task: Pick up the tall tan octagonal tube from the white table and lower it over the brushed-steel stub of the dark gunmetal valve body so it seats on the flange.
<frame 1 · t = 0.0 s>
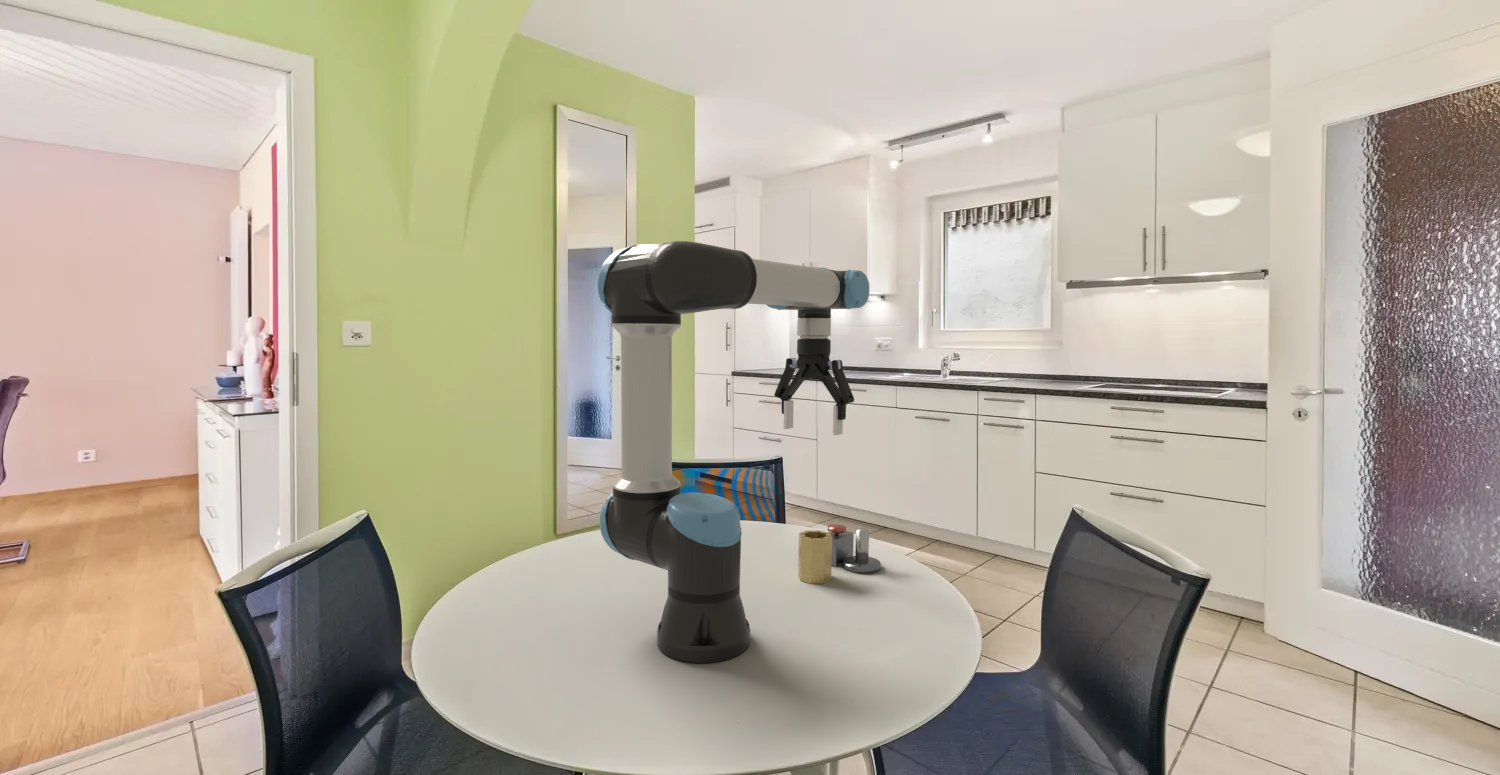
hand: (812, 431, 155), 28 cm above the table, fingers open, 13 cm apart
tan octagonal tube: (814, 577, 140), on the table
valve: (861, 567, 147), on the table
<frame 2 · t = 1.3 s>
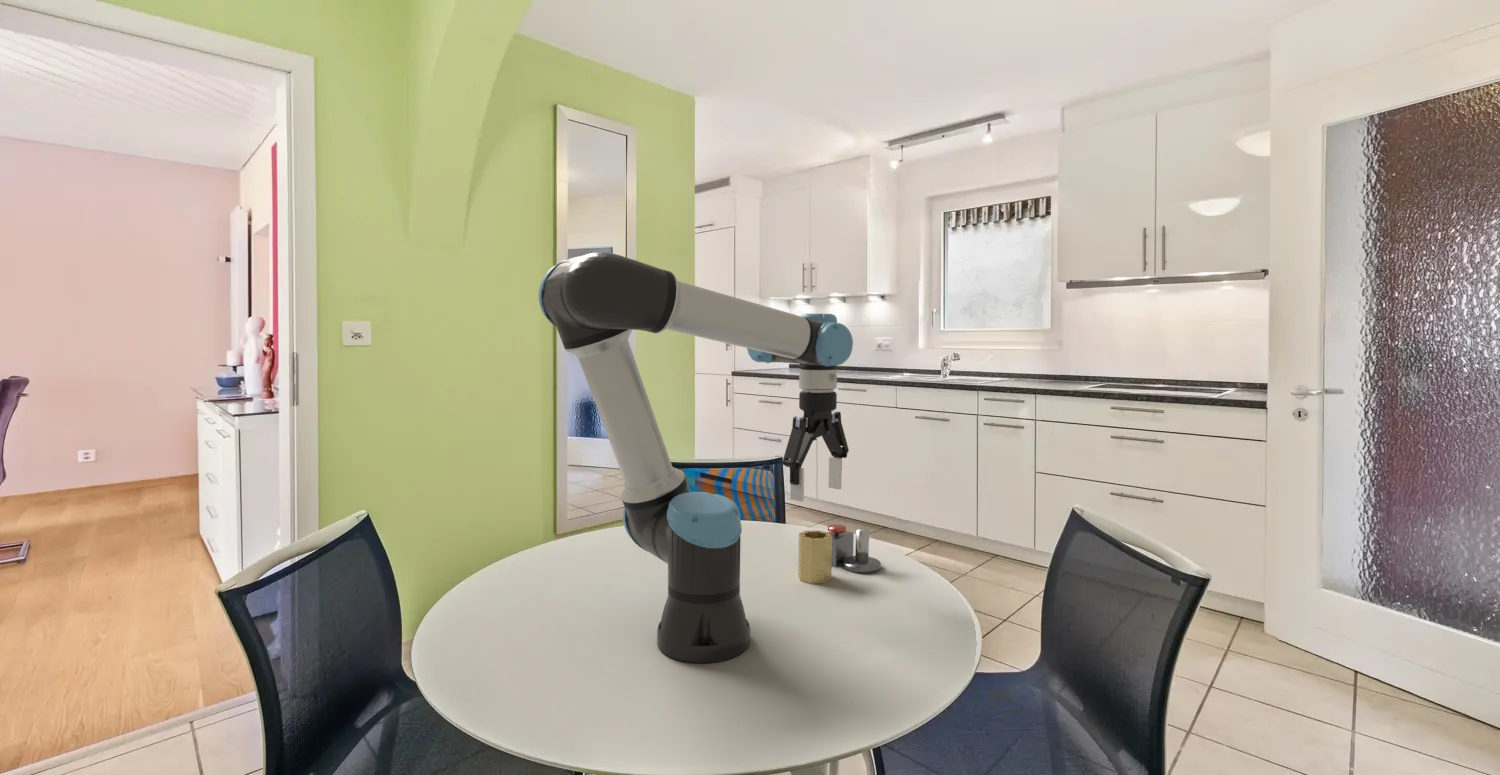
hand: (816, 494, 139), 17 cm above the table, fingers open, 13 cm apart
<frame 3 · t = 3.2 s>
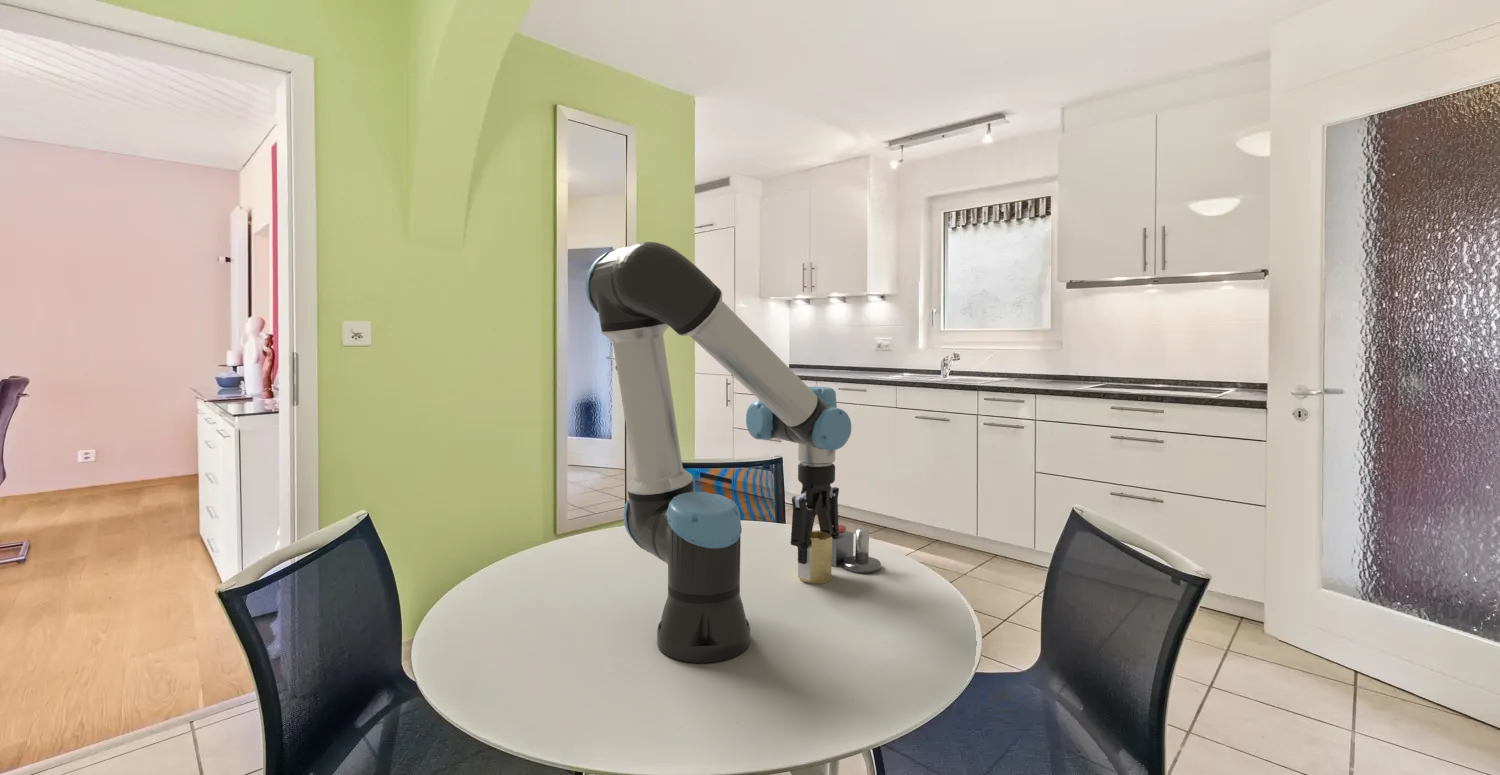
hand: (814, 573, 140), 1 cm above the table, fingers closed on tan octagonal tube, 6 cm apart
tan octagonal tube: (814, 577, 140), on the table, touching gripper
everything else where it was.
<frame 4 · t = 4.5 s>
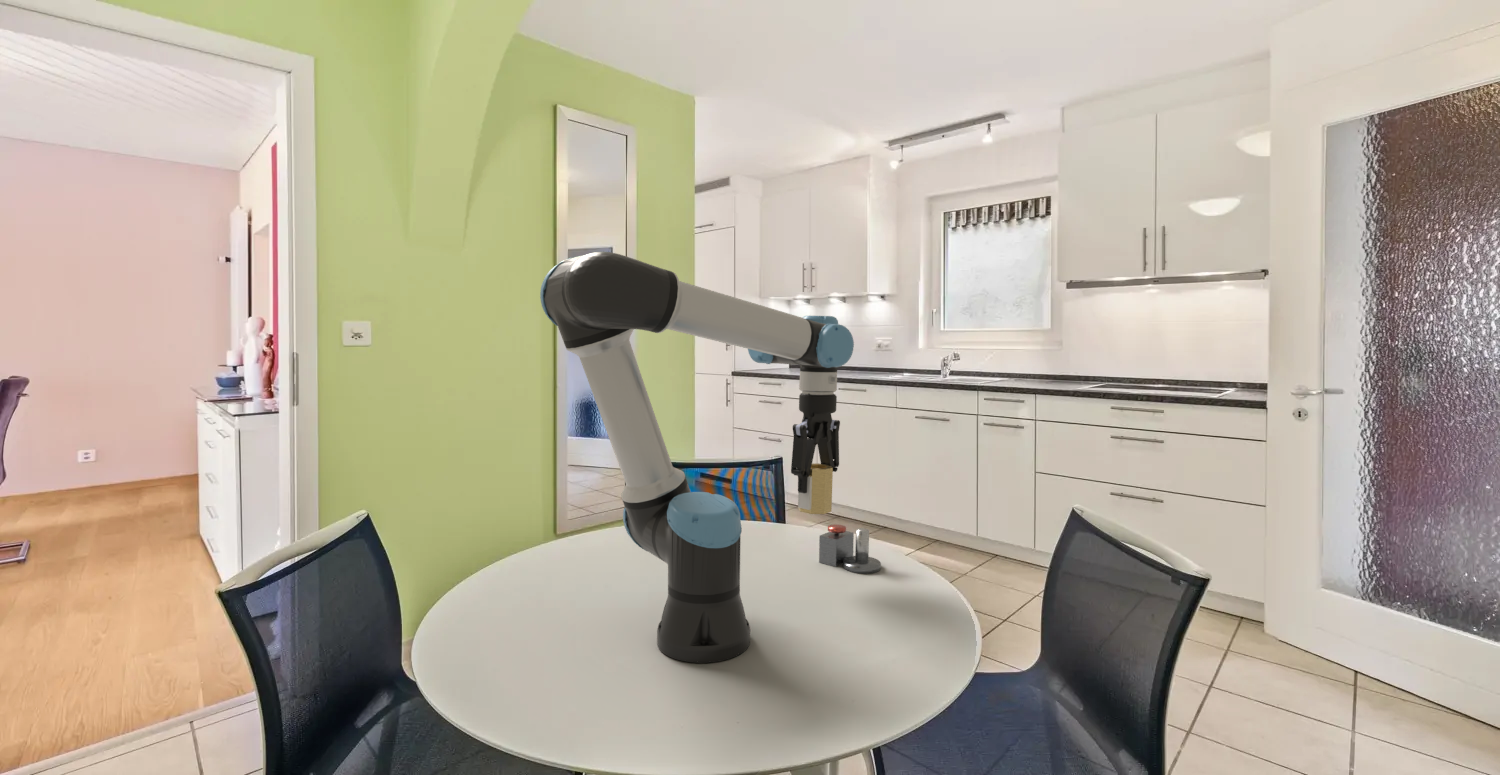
hand: (814, 505, 139), 15 cm above the table, fingers closed on tan octagonal tube, 6 cm apart
tan octagonal tube: (814, 509, 139), point 14 cm above the table, touching gripper
everything else where it was.
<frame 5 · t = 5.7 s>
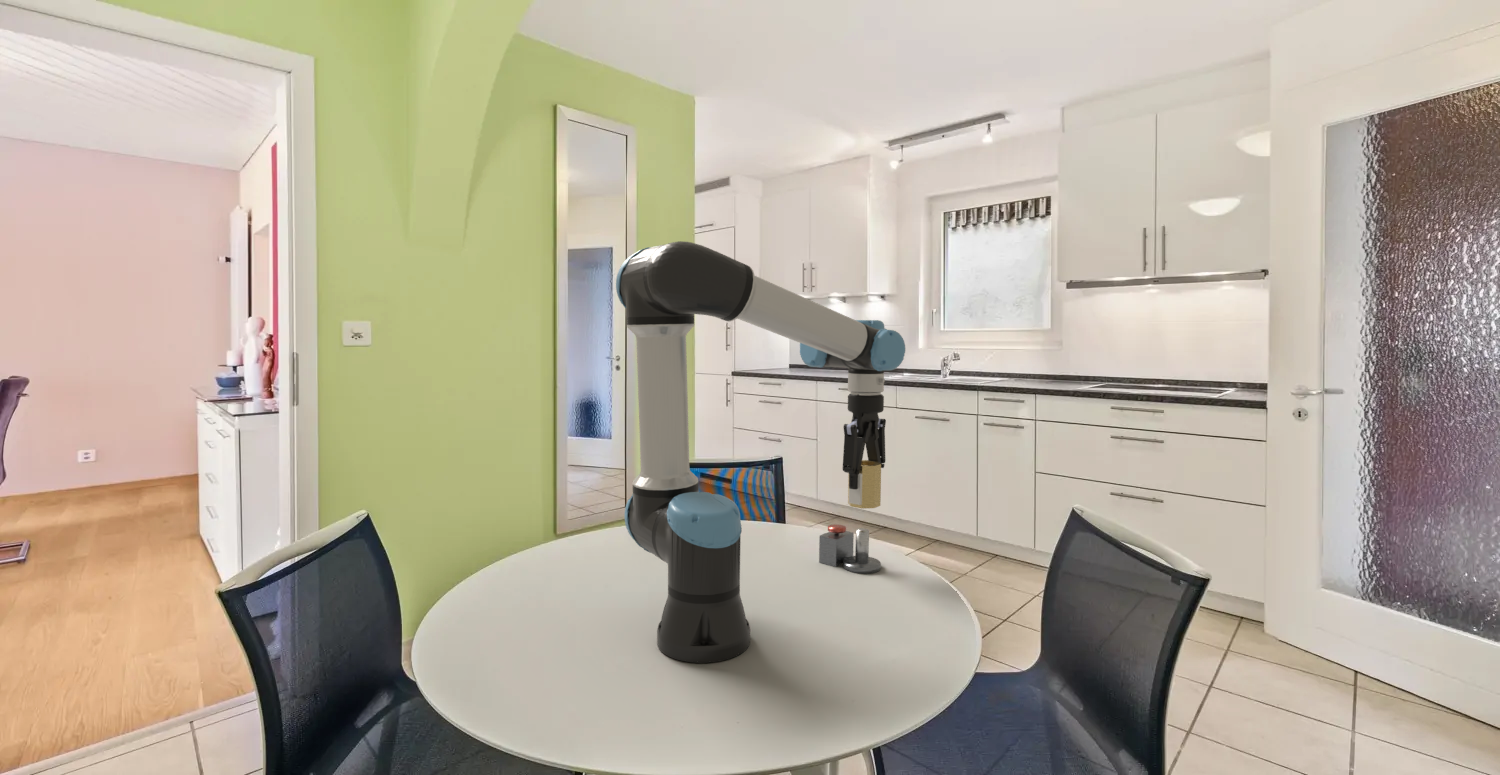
hand: (864, 500, 146), 15 cm above the table, fingers closed on tan octagonal tube, 6 cm apart
tan octagonal tube: (864, 504, 146), point 14 cm above the table, touching gripper
everything else where it was.
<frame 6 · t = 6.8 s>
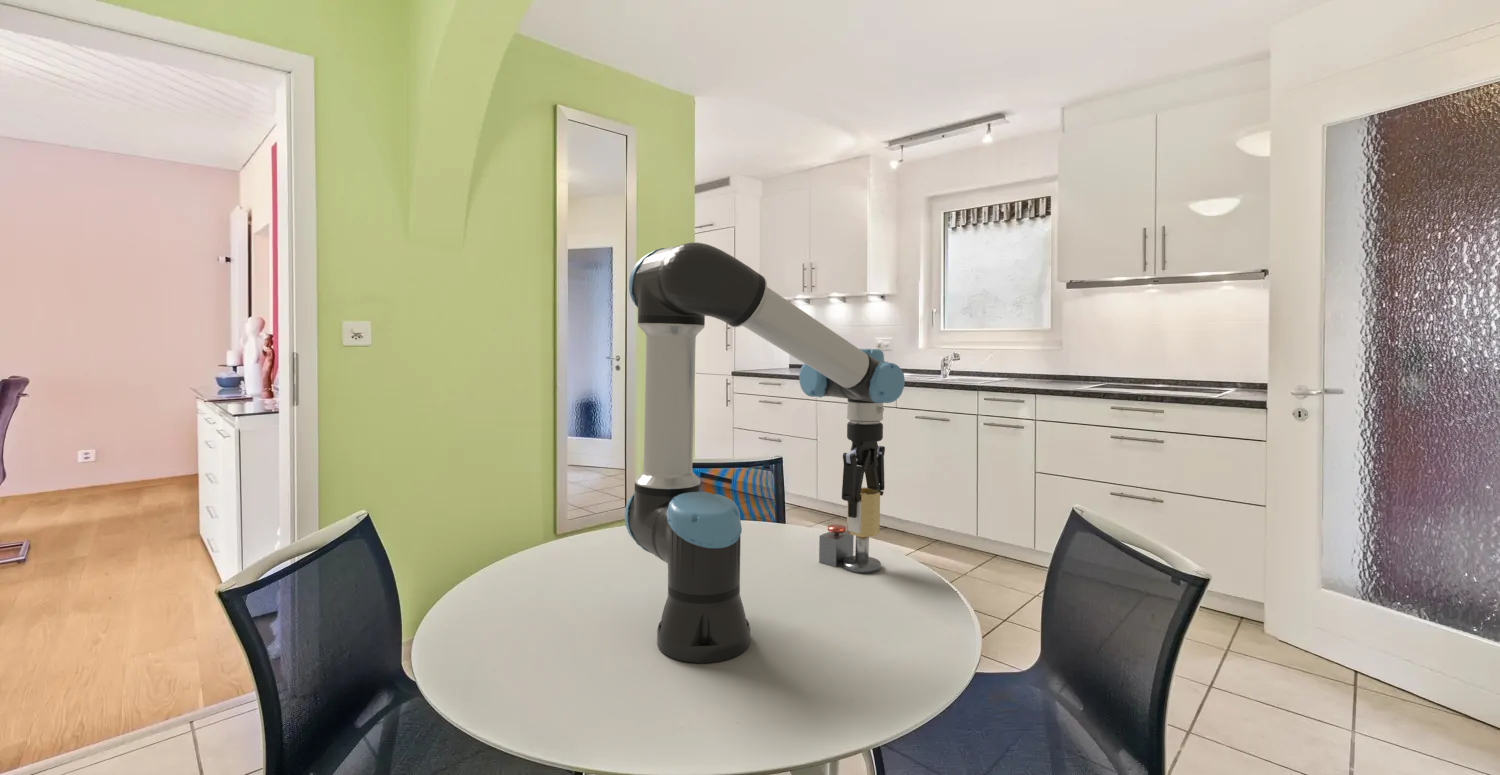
hand: (863, 527, 146), 9 cm above the table, fingers closed on tan octagonal tube, 6 cm apart
tan octagonal tube: (863, 532, 146), point 8 cm above the table, touching gripper
everything else where it was.
when the fingers open (5 cm above the table, at t = 7.8 s): tan octagonal tube drops 3 cm, resting on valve.
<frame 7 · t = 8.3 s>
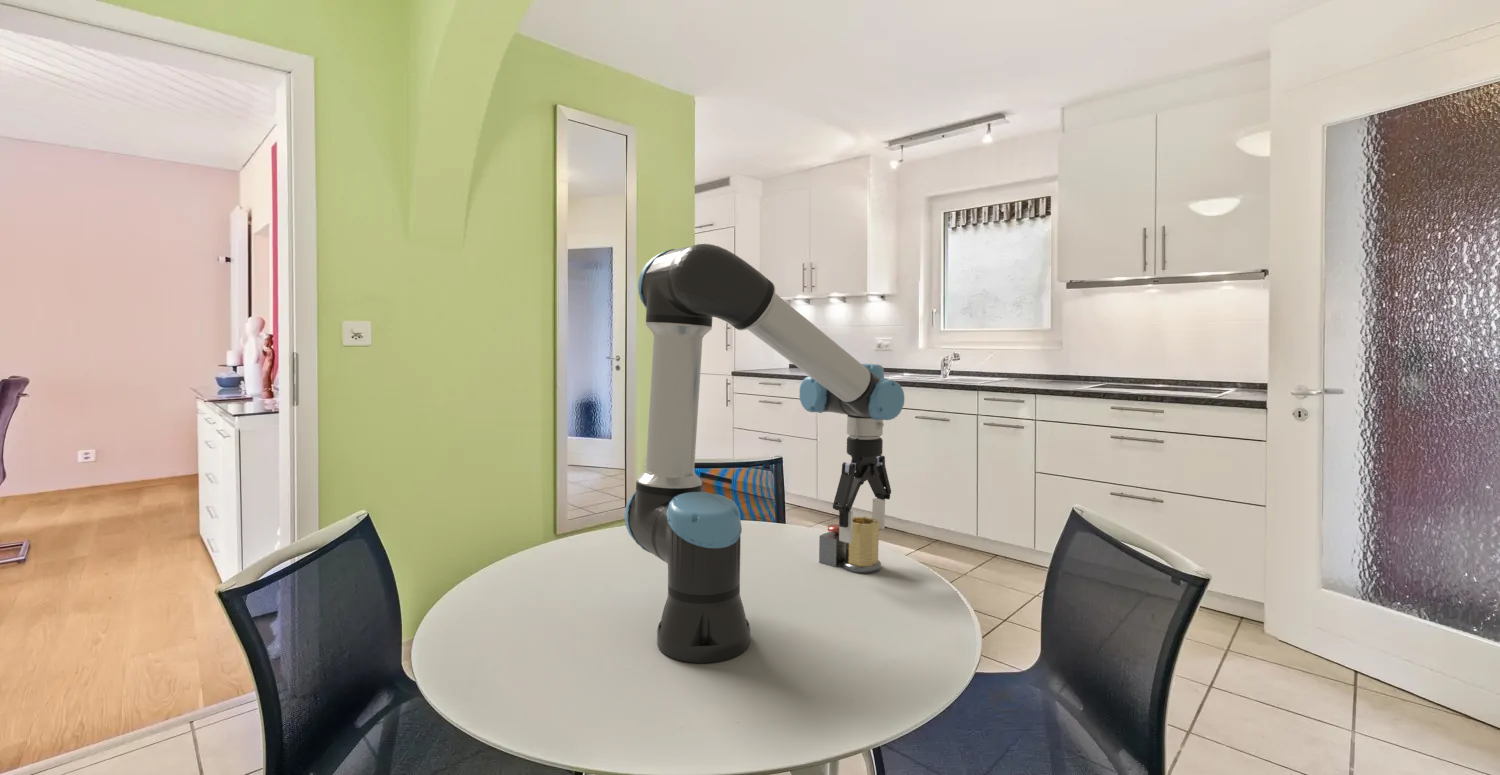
hand: (862, 534, 146), 7 cm above the table, fingers open, 13 cm apart
tan octagonal tube: (861, 561, 147), point 1 cm above the table, touching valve
everything else where it was.
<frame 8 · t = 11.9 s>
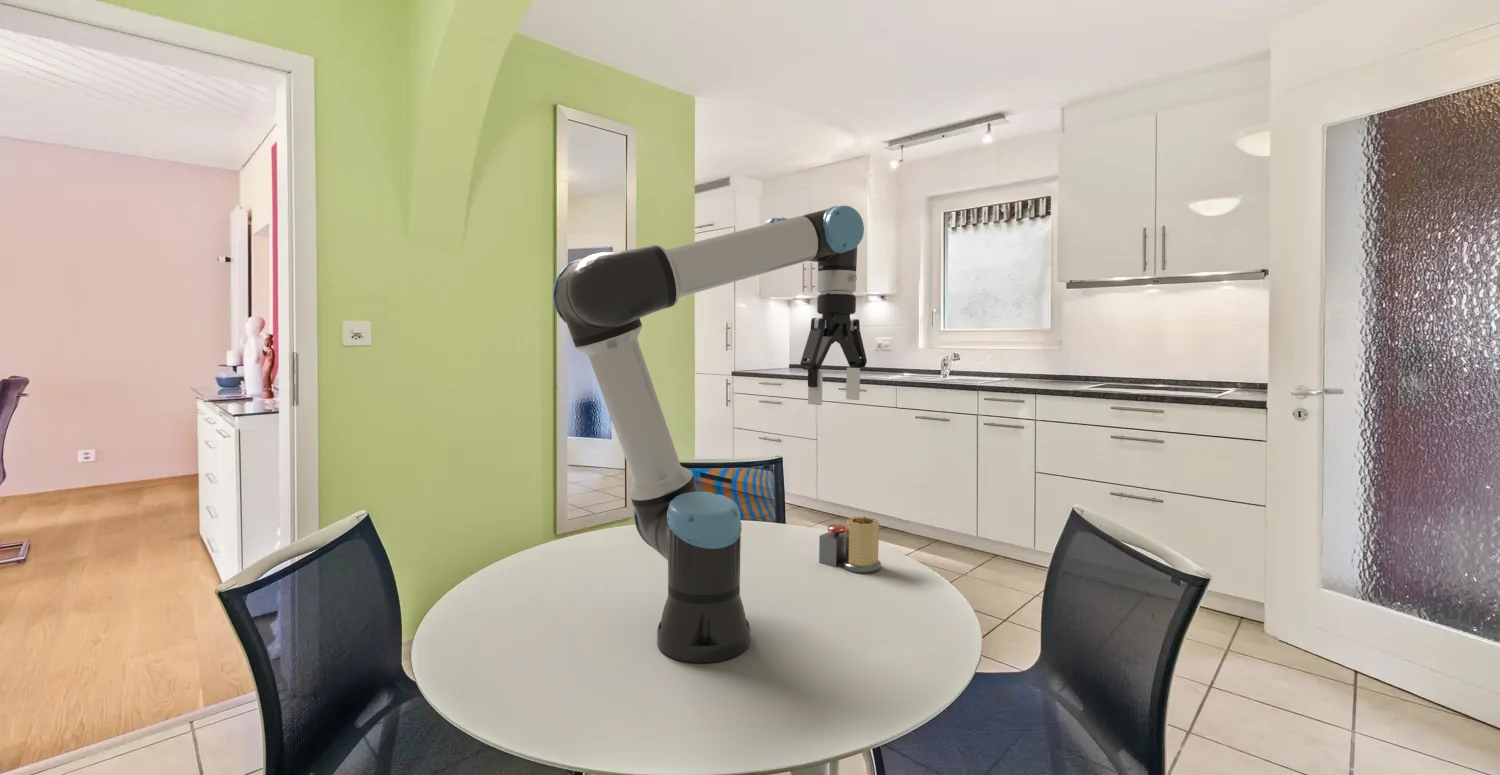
hand: (834, 402, 135), 37 cm above the table, fingers open, 13 cm apart
nothing on the table moved.
at the end: tan octagonal tube 0.0 cm off-centre on the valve, point 1.2 cm above the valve's base; tan octagonal tube tilted 0°; the gripper is holding nothing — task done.
